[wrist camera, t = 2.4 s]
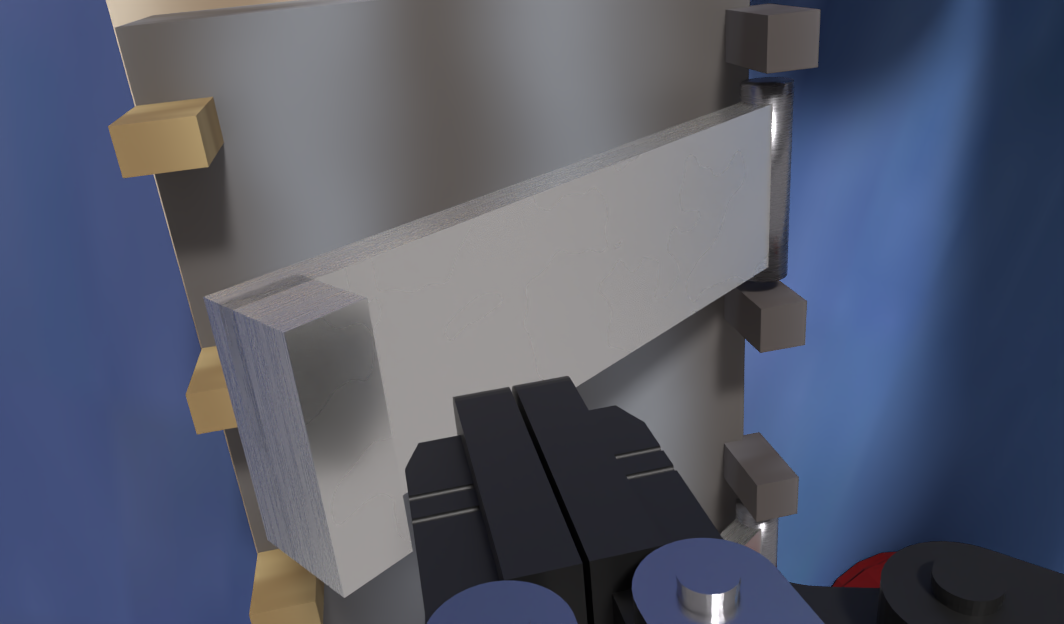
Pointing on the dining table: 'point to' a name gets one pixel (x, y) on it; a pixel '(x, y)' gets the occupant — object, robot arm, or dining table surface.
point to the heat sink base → (444, 189)
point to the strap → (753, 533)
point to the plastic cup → (864, 572)
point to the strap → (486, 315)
